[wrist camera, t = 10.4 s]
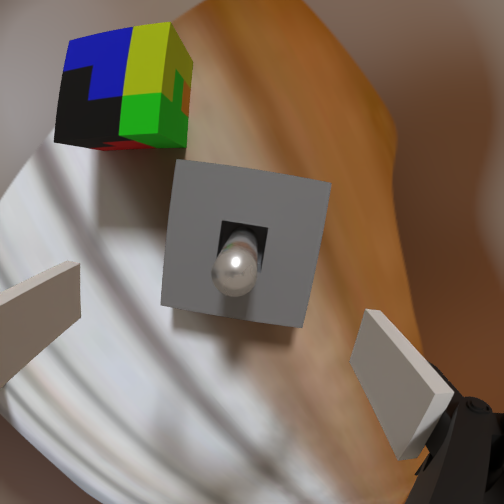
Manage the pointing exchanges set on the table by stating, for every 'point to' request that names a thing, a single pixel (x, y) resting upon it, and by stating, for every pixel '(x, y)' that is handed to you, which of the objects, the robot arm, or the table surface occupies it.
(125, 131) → the puzzle toy
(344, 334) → the table surface
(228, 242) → the pin
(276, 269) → the socket block
